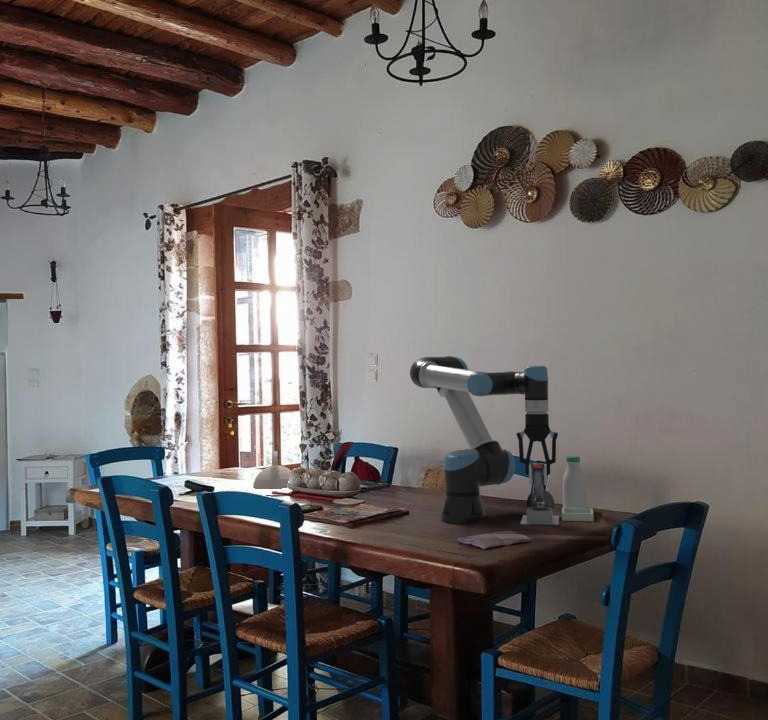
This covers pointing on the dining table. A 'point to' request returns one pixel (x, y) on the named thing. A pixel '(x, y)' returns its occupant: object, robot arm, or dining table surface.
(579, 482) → the milk bottle
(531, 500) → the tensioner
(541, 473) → the pin
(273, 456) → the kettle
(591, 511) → the tray
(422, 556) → the dining table surface
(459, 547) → the dining table surface
